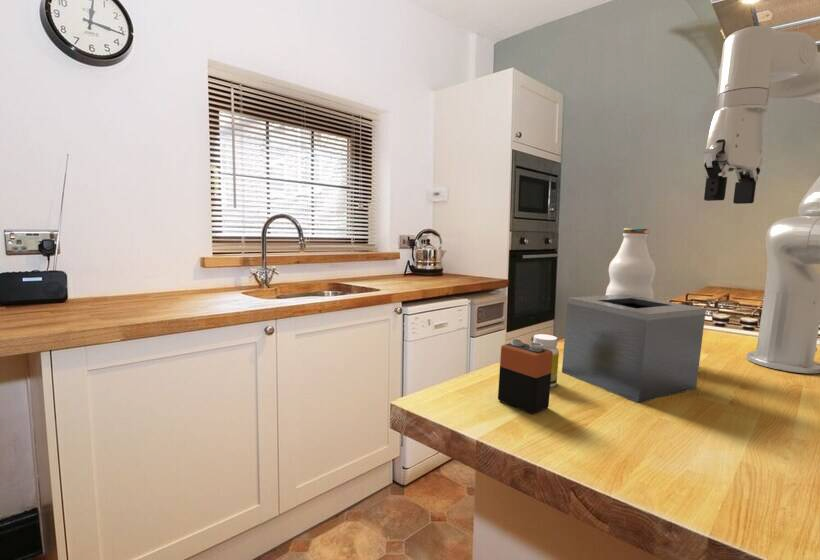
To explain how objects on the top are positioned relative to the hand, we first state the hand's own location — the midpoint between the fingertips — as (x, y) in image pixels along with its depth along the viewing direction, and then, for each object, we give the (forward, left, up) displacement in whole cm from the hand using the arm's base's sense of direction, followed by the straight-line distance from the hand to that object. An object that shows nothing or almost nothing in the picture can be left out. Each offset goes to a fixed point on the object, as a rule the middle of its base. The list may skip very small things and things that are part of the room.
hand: (728, 201), depth 81 cm
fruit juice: (+3, -16, -34) cm, 37 cm away
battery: (+43, -4, -34) cm, 55 cm away
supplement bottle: (+33, -10, -34) cm, 48 cm away
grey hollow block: (+17, -5, -33) cm, 38 cm away
